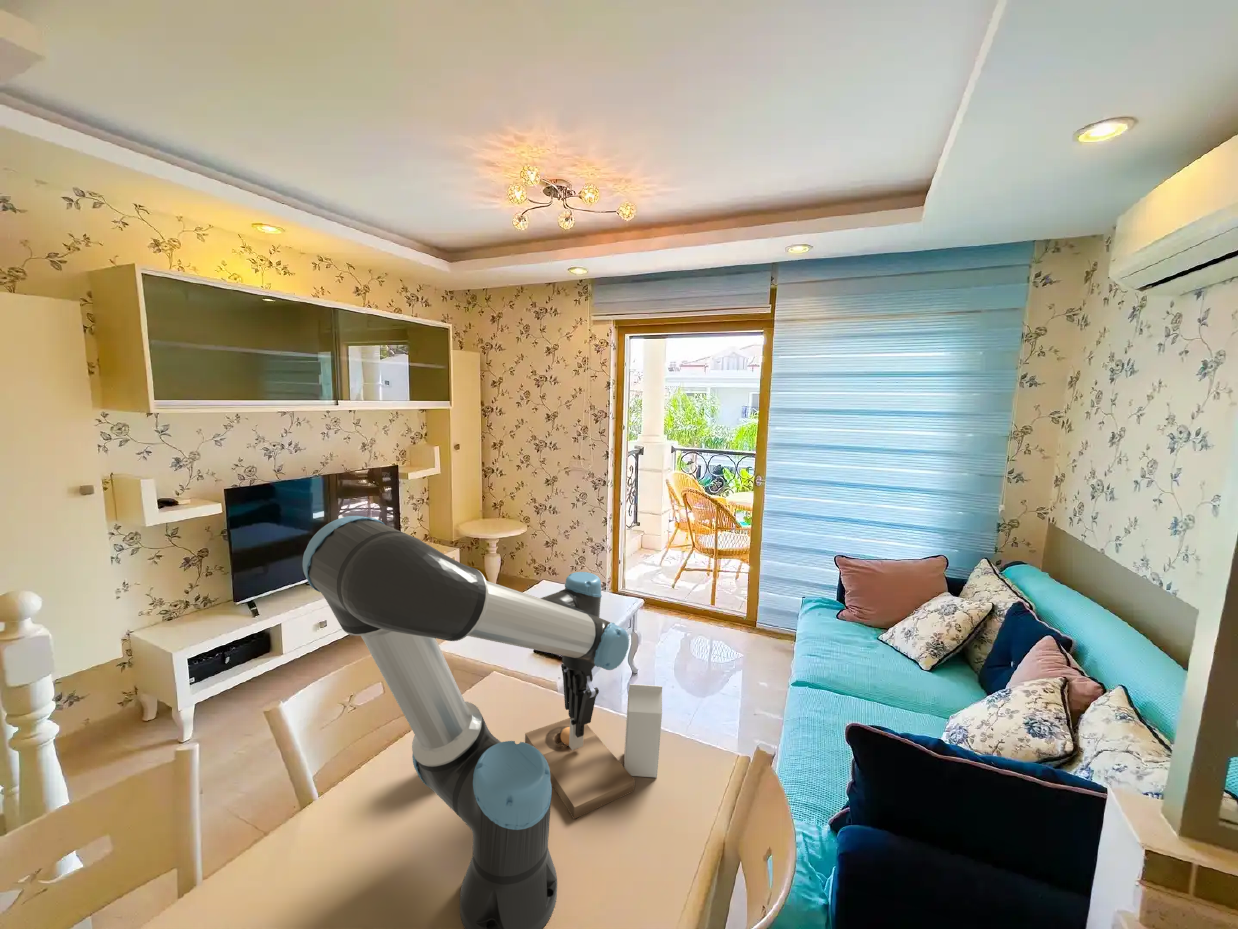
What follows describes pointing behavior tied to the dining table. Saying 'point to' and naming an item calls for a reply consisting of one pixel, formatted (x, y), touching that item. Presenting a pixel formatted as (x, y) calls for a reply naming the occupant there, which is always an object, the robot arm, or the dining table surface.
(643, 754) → the milk carton
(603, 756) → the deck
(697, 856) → the dining table surface
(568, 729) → the ball
